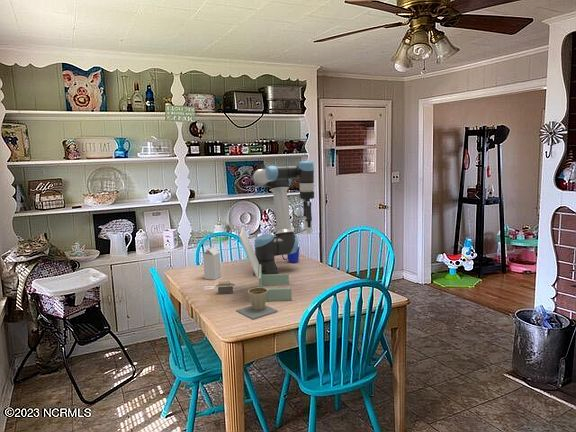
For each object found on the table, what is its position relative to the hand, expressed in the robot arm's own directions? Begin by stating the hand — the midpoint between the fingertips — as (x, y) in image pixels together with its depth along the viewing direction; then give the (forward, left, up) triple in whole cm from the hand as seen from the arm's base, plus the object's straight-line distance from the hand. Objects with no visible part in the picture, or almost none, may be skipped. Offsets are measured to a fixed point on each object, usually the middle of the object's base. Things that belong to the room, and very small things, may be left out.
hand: (307, 231), depth 234 cm
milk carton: (-55, -28, -32) cm, 69 cm away
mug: (-50, +28, -32) cm, 66 cm away
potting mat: (+8, -40, -32) cm, 52 cm away
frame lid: (-15, -27, -8) cm, 32 cm away
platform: (-26, -37, -32) cm, 55 cm away
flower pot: (+6, -38, -31) cm, 49 cm away
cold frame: (-8, -17, -32) cm, 37 cm away
